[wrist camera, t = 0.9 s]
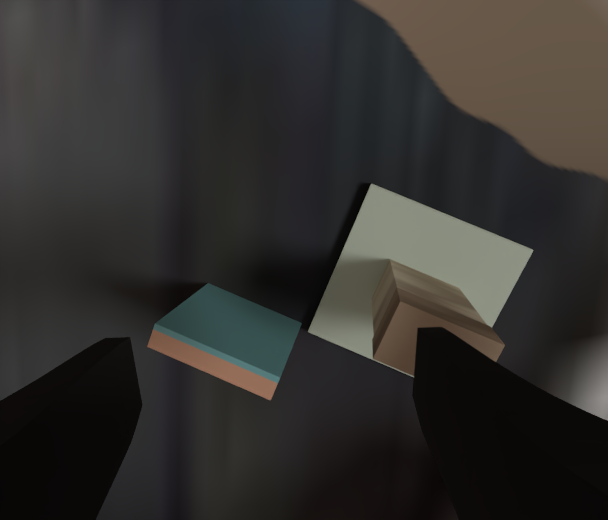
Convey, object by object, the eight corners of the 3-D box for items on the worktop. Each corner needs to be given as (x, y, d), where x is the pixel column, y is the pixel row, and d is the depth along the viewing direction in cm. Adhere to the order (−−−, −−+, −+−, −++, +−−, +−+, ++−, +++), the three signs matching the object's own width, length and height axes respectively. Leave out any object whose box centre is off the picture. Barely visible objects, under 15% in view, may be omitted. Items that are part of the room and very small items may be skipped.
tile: (301, 323, 27) (280, 377, 20) (294, 340, 27) (270, 400, 20) (208, 283, 27) (155, 323, 20) (201, 300, 27) (147, 346, 20)
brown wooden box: (460, 287, 24) (505, 345, 17) (440, 328, 25) (473, 401, 17) (389, 257, 25) (400, 301, 17) (370, 298, 25) (372, 358, 17)
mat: (529, 248, 24) (533, 250, 24) (453, 390, 26) (455, 394, 26) (371, 183, 24) (371, 183, 24) (309, 328, 27) (307, 331, 26)
